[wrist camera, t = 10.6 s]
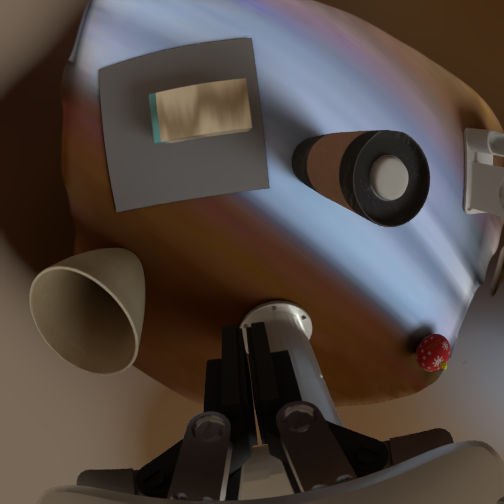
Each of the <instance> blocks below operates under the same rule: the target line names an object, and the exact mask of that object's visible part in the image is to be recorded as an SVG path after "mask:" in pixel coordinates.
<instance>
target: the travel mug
mask: <svg viewBox="0 0 504 504" xmlns="http://www.w3.org/2000/svg"><path fill="white" fill-rule="evenodd" d="M292 167H293V170H294V173H295V175H296V176H297V178H298V179H299V180H300V181H301V182H302V183H304V184H305V185H307V186H308V187H310V188H312V189H313V190H315V191H316V192H318V193H319V194H321V195H323V196H324V197H326V198H328V199H330V200H332V201H334V202H336V203H338V204H340V205H342V206H343V207H345V208H347V209H349V210H351V211H353V212H355V213H356V214H358V215H360V216H362V217H364V218H366V219H367V220H369V221H371V222H373V223H375V224H377V225H380V226H384V227H396V226H400V225H403V224H405V223H407V222H409V221H410V220H411V219H413V218H414V217H415V216H416V215H417V214H418V213H419V211H420V210H421V208H422V207H423V205H424V203H425V201H426V198H427V195H428V192H429V186H430V171H429V166H428V162H427V159H426V157H425V154H424V153H423V151H422V149H421V148H420V146H419V145H418V144H417V143H416V142H415V141H414V140H413V139H412V138H411V137H410V136H408V135H407V134H405V133H403V132H398V131H389V130H377V131H356V132H341V133H332V134H326V135H321V136H317V137H312V138H309V139H306V140H304V141H303V142H301V143H300V144H299V145H298V146H297V147H296V149H295V151H294V153H293V157H292Z"/></svg>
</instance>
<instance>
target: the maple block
mask: <svg viewBox="0 0 504 504" xmlns="http://www.w3.org/2000/svg"><path fill="white" fill-rule="evenodd" d="M149 101H150V111H151V120H152V129H153V137H154V143H155V144H169V143H175V142H180V141H185V140H191V139H197V138H203V137H210V136H216V135H224V134H231V133H240V132H248V131H249V130H251V129H252V123H251V115H250V106H249V98H248V90H247V82H246V78H243V79H233V80H225V81H217V82H210V83H203V84H197V85H191V86H186V87H180V88H175V89H171V90H166V91H161V92H157V93H153V94H149Z"/></svg>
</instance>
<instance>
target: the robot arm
mask: <svg viewBox="0 0 504 504" xmlns="http://www.w3.org/2000/svg"><path fill="white" fill-rule="evenodd" d="M311 334H312V322H311V320H310V317H309V315H308V314H307V312H306V311H305V310H304V309H303V308H302V307H300V306H299V305H297V304H295V303H292V302H288V301H270V302H267V303H263V304H261V305H259V306H257V307H255V308H254V309H252V310H251V311H250V312H248V313H247V314H246V315H245V317H244V318H243V320H242V321H241V324H240V326H239V328H238V329H237V327H236V325H233V326H225V327H222V359H214V360H208V361H207V367H206V381H205V396H204V412H203V413H200V414H198V415H196V416H194V417H193V418H192V419H191V420H190V421H189V423H188V425H187V428H186V431H185V435H184V438H183V439H182V440H181V441H179V442H178V443H177V444H175V445H174V446H172V447H171V448H170V449H168V450H167V451H165V452H164V453H163V454H161V455H160V456H158V457H157V458H155V459H154V460H152V461H151V462H150V463H148V464H146V465H145V466H144V467H142V468H141V469H140V470H134V469H132V468H128V469H104V470H103V469H102V470H85V471H83V472H81V473H80V475H79V476H78V478H77V485H66V486H58V487H54V488H50V489H48V490H46V491H44V492H43V493H42V494H41V496H40V497H39V499H38V501H37V503H36V504H504V461H503V459H502V458H501V456H500V455H499V454H498V453H497V452H496V451H495V449H493V448H492V447H491V446H490V445H489V444H487V443H485V442H483V441H476V440H470V441H469V440H468V441H461V442H456V443H454V442H453V438H452V436H451V434H450V433H449V432H448V431H447V430H445V429H442V428H435V429H431V430H427V431H422V432H419V433H414V434H409V435H404V436H399V437H393V438H389V440H387V441H378V440H377V439H374V438H371V437H368V436H365V435H362V434H360V433H357V432H354V431H352V430H349V429H347V428H345V427H344V425H343V423H342V421H341V420H340V418H339V415H338V413H337V411H336V409H335V406H334V404H333V401H332V399H331V396H330V394H329V391H328V389H327V386H326V383H325V381H324V378H323V376H322V373H321V370H320V368H319V365H318V363H317V360H316V357H315V355H314V352H313V350H312V347H311V345H310V342H309V339H310V337H311ZM246 352H247V353H248V354H249V362H250V372H251V379H250V372H249V366H248V361H247V355H246ZM251 381H252V387H251ZM252 390H253V397H252ZM253 398H254V405H255V410H256V415H257V420H258V425H259V431H260V435H261V440H262V444H268V445H264V446H259V447H254V448H253V446H254V445H258V442H257V433H256V424H255V416H254V406H253Z"/></svg>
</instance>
